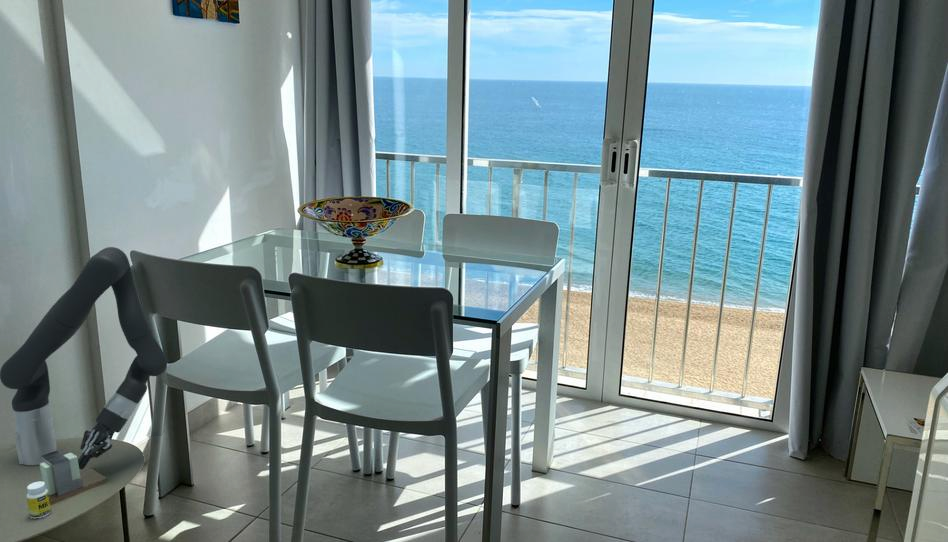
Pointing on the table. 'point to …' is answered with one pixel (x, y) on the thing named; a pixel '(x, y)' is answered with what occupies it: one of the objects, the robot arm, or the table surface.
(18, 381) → the robot arm
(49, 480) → the mint green block
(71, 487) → the base
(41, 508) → the supplement bottle
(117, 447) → the table surface
